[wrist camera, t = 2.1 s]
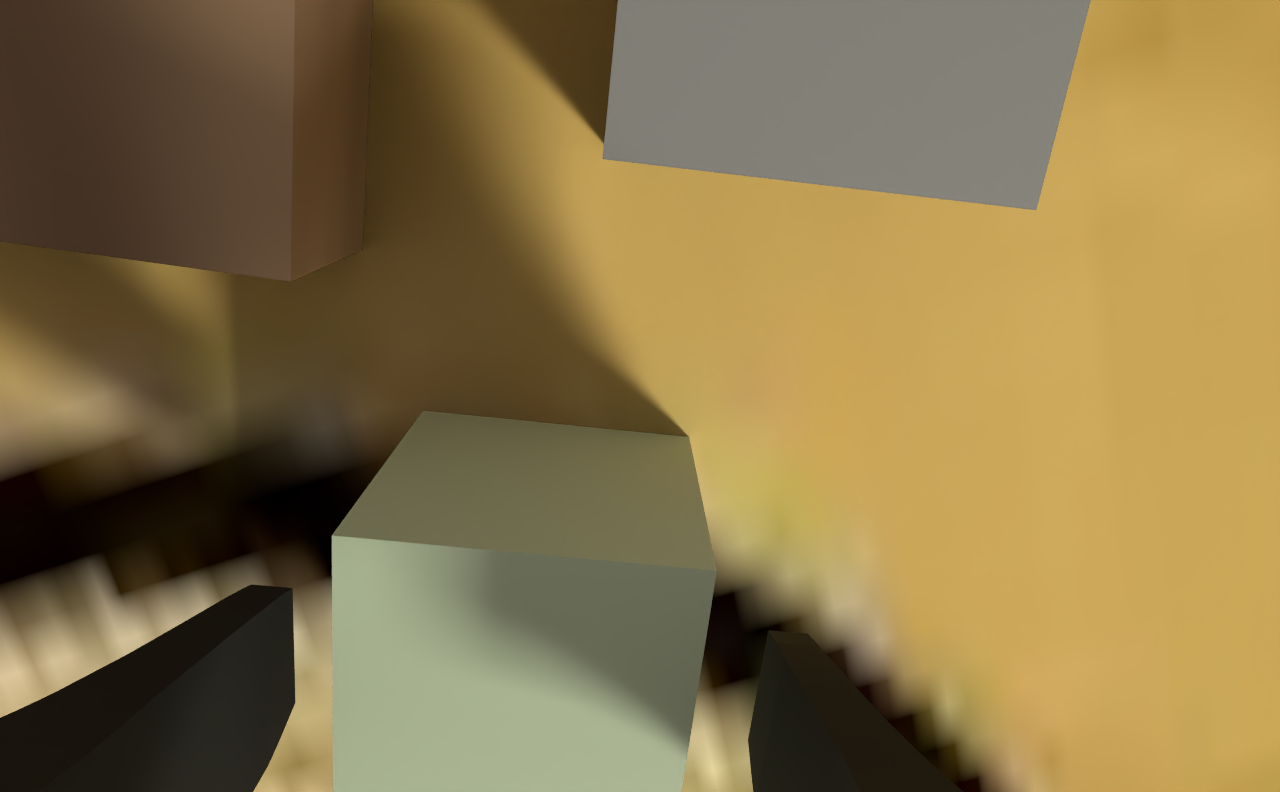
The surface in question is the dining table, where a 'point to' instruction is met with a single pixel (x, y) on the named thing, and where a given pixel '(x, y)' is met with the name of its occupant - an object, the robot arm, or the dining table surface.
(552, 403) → the dining table surface
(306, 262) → the walnut block
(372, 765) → the sage cube
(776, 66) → the grey cube
